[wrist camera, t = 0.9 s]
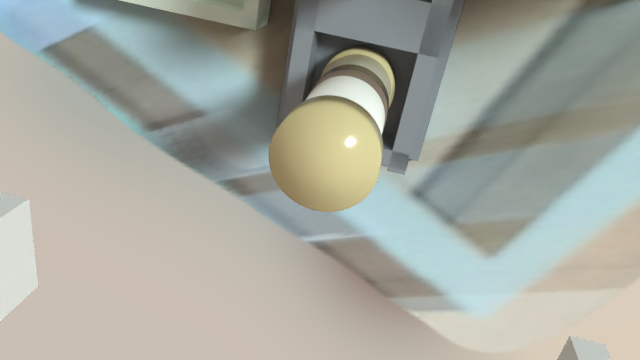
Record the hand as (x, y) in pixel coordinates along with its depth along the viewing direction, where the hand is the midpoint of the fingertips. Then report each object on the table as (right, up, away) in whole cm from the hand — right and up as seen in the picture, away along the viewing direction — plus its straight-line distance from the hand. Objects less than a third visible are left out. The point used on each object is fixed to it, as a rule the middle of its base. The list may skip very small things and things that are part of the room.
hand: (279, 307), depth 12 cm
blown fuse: (+3, +9, +18) cm, 20 cm away
